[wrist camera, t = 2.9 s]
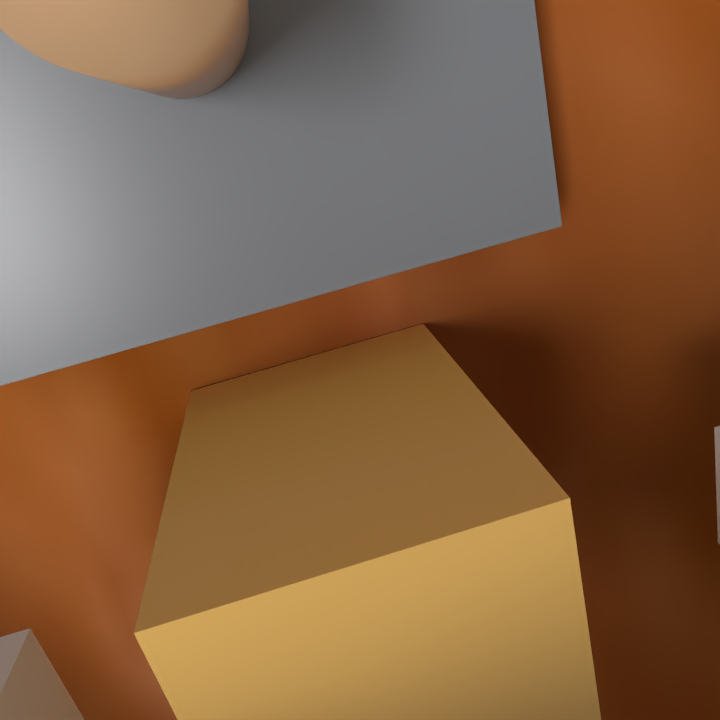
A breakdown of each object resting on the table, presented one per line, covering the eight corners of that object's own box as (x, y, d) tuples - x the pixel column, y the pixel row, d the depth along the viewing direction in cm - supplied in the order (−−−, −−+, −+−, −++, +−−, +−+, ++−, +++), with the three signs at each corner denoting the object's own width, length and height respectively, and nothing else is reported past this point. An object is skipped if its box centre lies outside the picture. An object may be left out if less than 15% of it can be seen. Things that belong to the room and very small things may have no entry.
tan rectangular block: (262, 577, 18) (269, 899, 10) (190, 390, 16) (134, 633, 8) (465, 515, 18) (610, 785, 11) (423, 323, 16) (569, 498, 9)
